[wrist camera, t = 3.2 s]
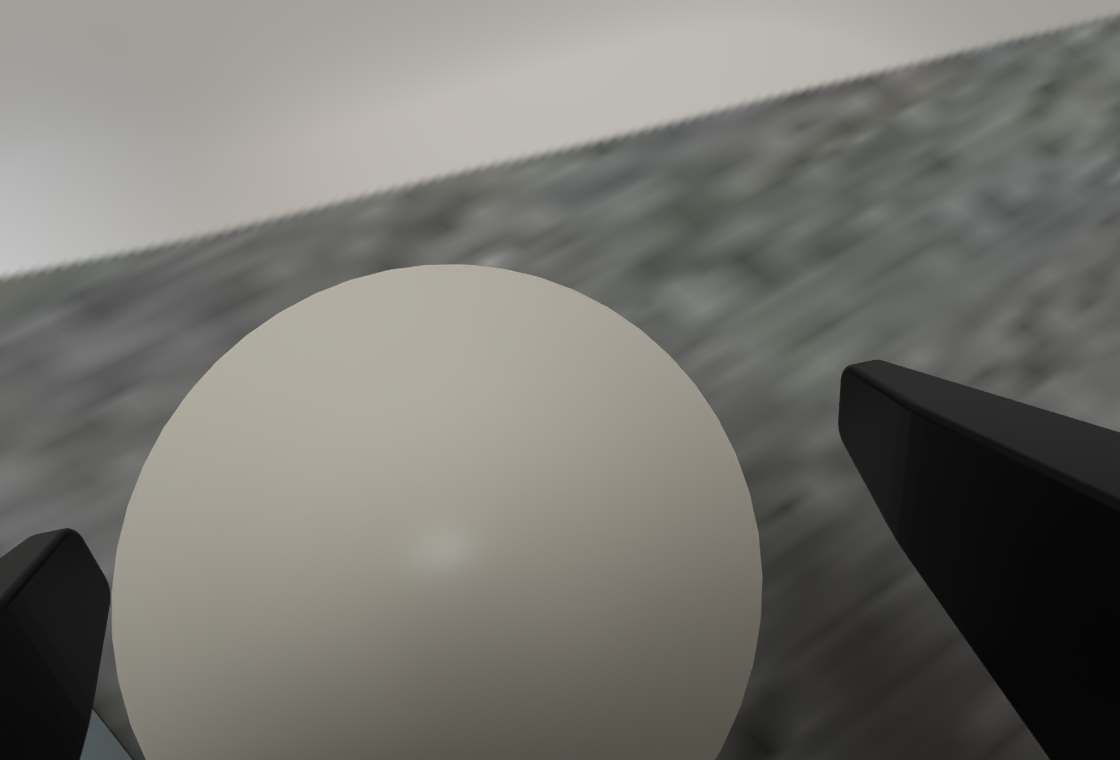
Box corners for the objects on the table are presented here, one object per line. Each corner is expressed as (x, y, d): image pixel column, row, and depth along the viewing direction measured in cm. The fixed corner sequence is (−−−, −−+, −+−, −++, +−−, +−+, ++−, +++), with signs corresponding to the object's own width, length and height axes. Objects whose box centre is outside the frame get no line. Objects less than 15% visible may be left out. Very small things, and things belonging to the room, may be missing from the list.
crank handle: (368, 491, 16) (-89, 209, 4) (609, 439, 16) (777, 53, 5) (421, 819, 14) (-69, 1730, 3) (686, 753, 15) (1208, 1312, 3)
